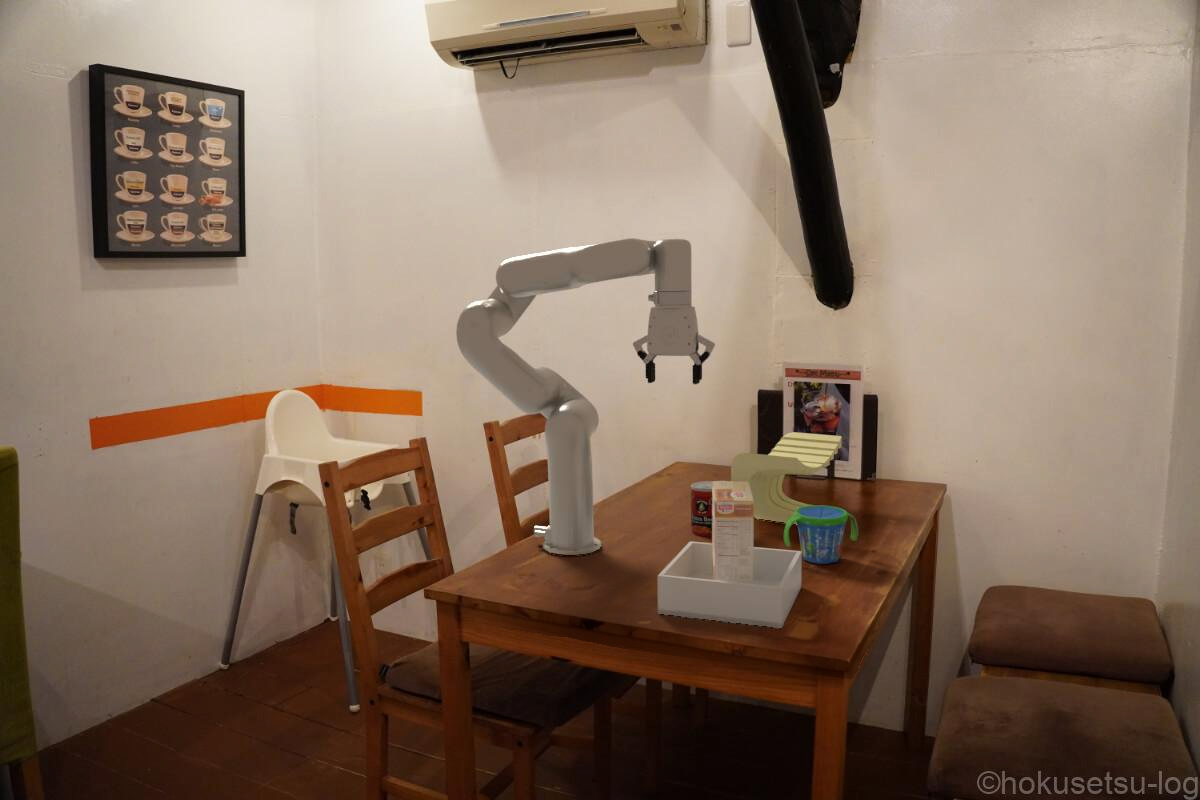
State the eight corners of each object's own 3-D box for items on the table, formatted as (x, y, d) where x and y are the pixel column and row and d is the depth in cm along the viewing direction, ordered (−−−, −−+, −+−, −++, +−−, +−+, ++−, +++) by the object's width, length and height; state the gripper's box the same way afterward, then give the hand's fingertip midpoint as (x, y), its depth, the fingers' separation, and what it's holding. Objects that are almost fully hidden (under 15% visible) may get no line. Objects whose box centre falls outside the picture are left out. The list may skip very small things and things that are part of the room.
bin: (657, 614, 165) (657, 575, 164) (690, 575, 185) (689, 541, 184) (781, 628, 157) (781, 588, 156) (801, 587, 177) (801, 551, 176)
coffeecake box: (711, 580, 179) (711, 480, 176) (749, 581, 178) (750, 480, 175) (713, 609, 164) (713, 500, 161) (754, 609, 163) (755, 500, 160)
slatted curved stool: (780, 498, 244) (781, 431, 242) (840, 506, 236) (841, 436, 233) (730, 526, 219) (731, 451, 217) (795, 535, 211) (796, 457, 208)
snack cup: (791, 569, 188) (791, 519, 186) (776, 553, 198) (776, 506, 197) (866, 565, 189) (868, 516, 188) (848, 550, 200) (849, 503, 198)
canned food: (685, 534, 213) (685, 487, 212) (698, 525, 220) (698, 479, 219) (717, 538, 210) (717, 490, 208) (729, 529, 217) (729, 482, 215)
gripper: (627, 301, 192) (628, 384, 195) (709, 300, 186) (710, 386, 189) (638, 299, 199) (639, 379, 202) (718, 299, 193) (718, 381, 196)
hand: (673, 382), depth 195 cm, fingers open, 9 cm apart
